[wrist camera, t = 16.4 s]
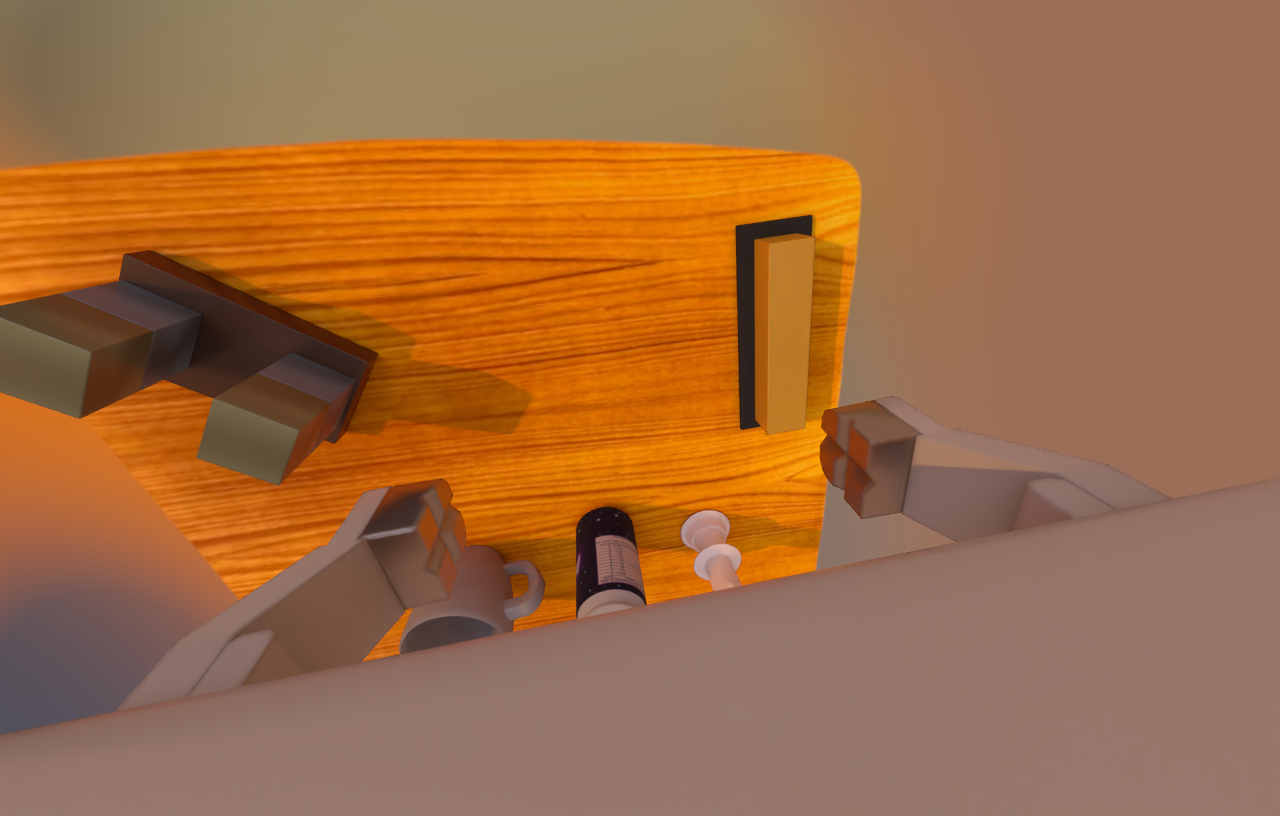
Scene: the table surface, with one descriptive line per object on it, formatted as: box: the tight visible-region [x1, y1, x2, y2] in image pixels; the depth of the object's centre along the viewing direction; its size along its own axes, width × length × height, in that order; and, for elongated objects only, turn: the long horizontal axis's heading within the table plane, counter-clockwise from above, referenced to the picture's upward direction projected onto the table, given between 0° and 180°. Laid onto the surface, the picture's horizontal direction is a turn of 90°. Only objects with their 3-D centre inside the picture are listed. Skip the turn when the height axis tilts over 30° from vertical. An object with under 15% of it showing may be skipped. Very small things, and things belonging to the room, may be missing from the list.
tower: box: [0, 250, 378, 485], centre depth 30 cm, size 8×15×10 cm, turn 58°
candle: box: [681, 510, 742, 591], centre depth 42 cm, size 5×5×12 cm
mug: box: [399, 545, 545, 654], centre depth 42 cm, size 12×9×10 cm
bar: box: [754, 233, 815, 435], centre depth 37 cm, size 4×16×3 cm, turn 7°
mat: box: [736, 215, 812, 430], centre depth 39 cm, size 18×6×1 cm, turn 7°
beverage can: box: [576, 507, 647, 619], centre depth 40 cm, size 6×6×12 cm
